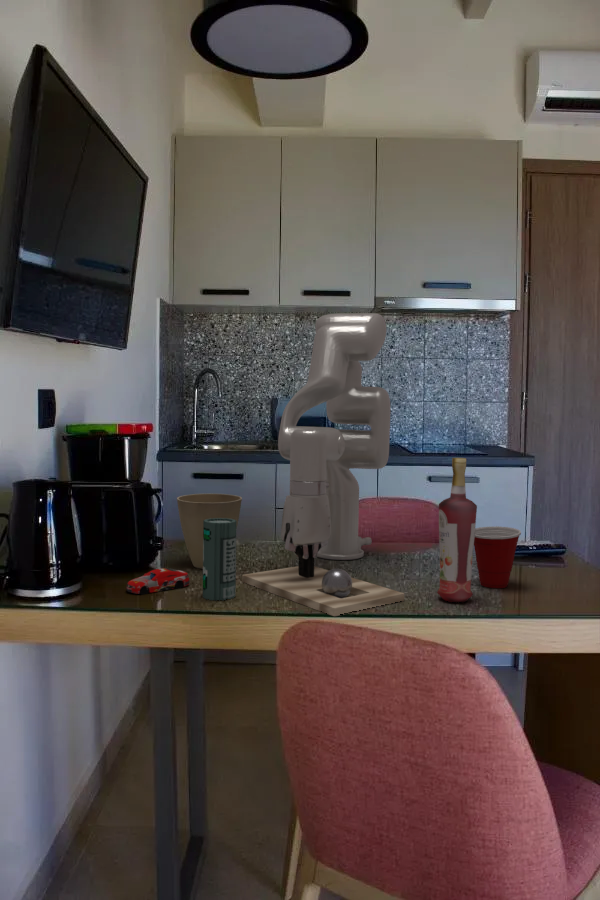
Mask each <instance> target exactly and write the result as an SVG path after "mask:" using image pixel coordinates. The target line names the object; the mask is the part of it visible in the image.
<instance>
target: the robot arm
mask: <svg viewBox="0 0 600 900" xmlns="http://www.w3.org/2000/svg"><path fill="white" fill-rule="evenodd" d="M386 337H387V324H386V321H385V318H384V317H383V315H381V314H380V313H375V312H371V313H370V312H364V313H363V312H362V313H359V312H358V313H357V312H356V313H354V312H353V313H348V312H347V313H346V312H345V313H344V312H342V313H341V312H340V313H328V314H323V315H321V316H319V317H318V318H317V319H316V321H315V334H314V338H313V346H312V351H311V353H312V354H311V358H310V364H309V365H310V366H309V371H308V378H307V382H306V384H305V385H303V386H302V387H301V388H300V389H299V390H298V391H297V392H295V394H294V395H293V396H292V397H291V399H289V401H288V402H287V404H286V405H285V407H284V410H283V412H282V415H281V421H280V425H279V431H278V441H277V446H278V448H277V449H278V452H279V455H280V456H281V457H282V458H283V459H285V460H287V461H289V495H286V496H285V501H284V505H283V508H282V509H283V510H282V515H281V517H282V518H281V530H280V531H281V533H280V538H281V541H282V542H284V544H285V545H284V550H285V551H289V552H293V553H294V554H295V556H296V557H297V558H298V565H297V566H298V571H299V575H300V576H302V577H306V578H309V577H314V566H315V559H316V558H317V557H318V558H320V559H326V560H332V561H333V560H337V561H347V560H348V561H349V560H351V561H352V560H357V559H361V558H363V557H364V555H365V551H364V550H363V549H362V547H363V546H368V545H369V546H371V545H372V542H373V541H372V538H371V537H369V536H368V537H367V536H366V537H362V536H359V515H360V514H359V512H360V511H359V510H360V508H359V507H360V485H359V482H358V480H357V479H356V477H355V475H354V474H353V473H352V471H351V469H359V470H360V469H363V470H380V469H383V468H385V466H387V464H388V461H389V456H390V434H391V411H392V410H391V398H390V394H389V393H388V391H387V390H386V389H385V388H383V387H380V386H363V385H362V377H363V376H362V373H363V369H362V365H361V362H369V361H372V360H374V359H375V358H376V357H377V355H378V354H379V352H380V350H381V349H382V348H383V345H384V343H385V341H386ZM323 403H326V415H327V419H328V420H329V421H330V422H331V423H333V424H339V425H357V426H358V425H359V426H361V425H363V426H369V427H370V428H371V429H370V430H365V429H364V430H363V429H361V430H360V429H340V428H339V429H337V428H335V427H326V426H306V425H305V426H304V425H303V426H301V425H300V426H298V425H297V424H298V422H299V420H300V418H301V417H302V416H303V415H304V414H305V413H306V412H308V411H309V410H310V409H313V408H315V407H317V406H319V405H321V404H323Z"/></svg>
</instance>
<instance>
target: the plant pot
mask: <svg viewBox="0 0 600 900" xmlns="http://www.w3.org/2000/svg"><path fill="white" fill-rule="evenodd" d="M176 501H177V509H178V515H179V522H180V526H181V532H182V536H183V538H184V542H185V546H186V549H187V552H188V555H189V558H190V561H191V562H192V565H193V567H195V568H197V569H202V570H203V521H204V520H206V519H210V518H211V519H213V518H228V519H233V520H236V521H237V522H236V530H237V529H238V526H239V525H238V524H239V519H240V514H241V508H242V501H243V497H242V496H239V495H235V494H229V493H228V494H227V493H194V494H193V493H192V494H184V495H180V496H178V497H176Z"/></svg>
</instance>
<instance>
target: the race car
mask: <svg viewBox="0 0 600 900" xmlns="http://www.w3.org/2000/svg"><path fill="white" fill-rule="evenodd" d="M189 577H190V576H189V574H188V572H186V571H184V570H179V569H173V568H170V567H169V568H164V567H163V568H162V567H161V568H156V569H153V570H150V571H148V572H146V573H144V574H143V575H142V576H139V577H136V578H133V579H132V578H131V580H129V581H128V582H127V583H126V592H128V593H132V594H136V595H137V594H140V595H141V596H143V595H148V594H150V593H157V592H163V591H169V590H173V589H176V590H179V589H183V587H187V586H189V585H190V578H189Z"/></svg>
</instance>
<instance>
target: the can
mask: <svg viewBox="0 0 600 900" xmlns="http://www.w3.org/2000/svg"><path fill="white" fill-rule="evenodd" d="M236 522H237V521H236V520H233V519H228V518H213V519H211V518H210V519H206V520H204V521H203V569H202V598H203V599H205V600H208V599H209V600H208V601H213V600H214V601H217V600H219V601H220V600H222V601H224V600H225V601H227V600H226V599H230V600H232V599H235V598H236V587H237V586H236V585H237V584H236V583H237V581H236V580H237V579H236V578H237V577H236V575H237V529H236ZM234 597H235V598H234ZM231 598H232V599H231Z"/></svg>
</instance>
